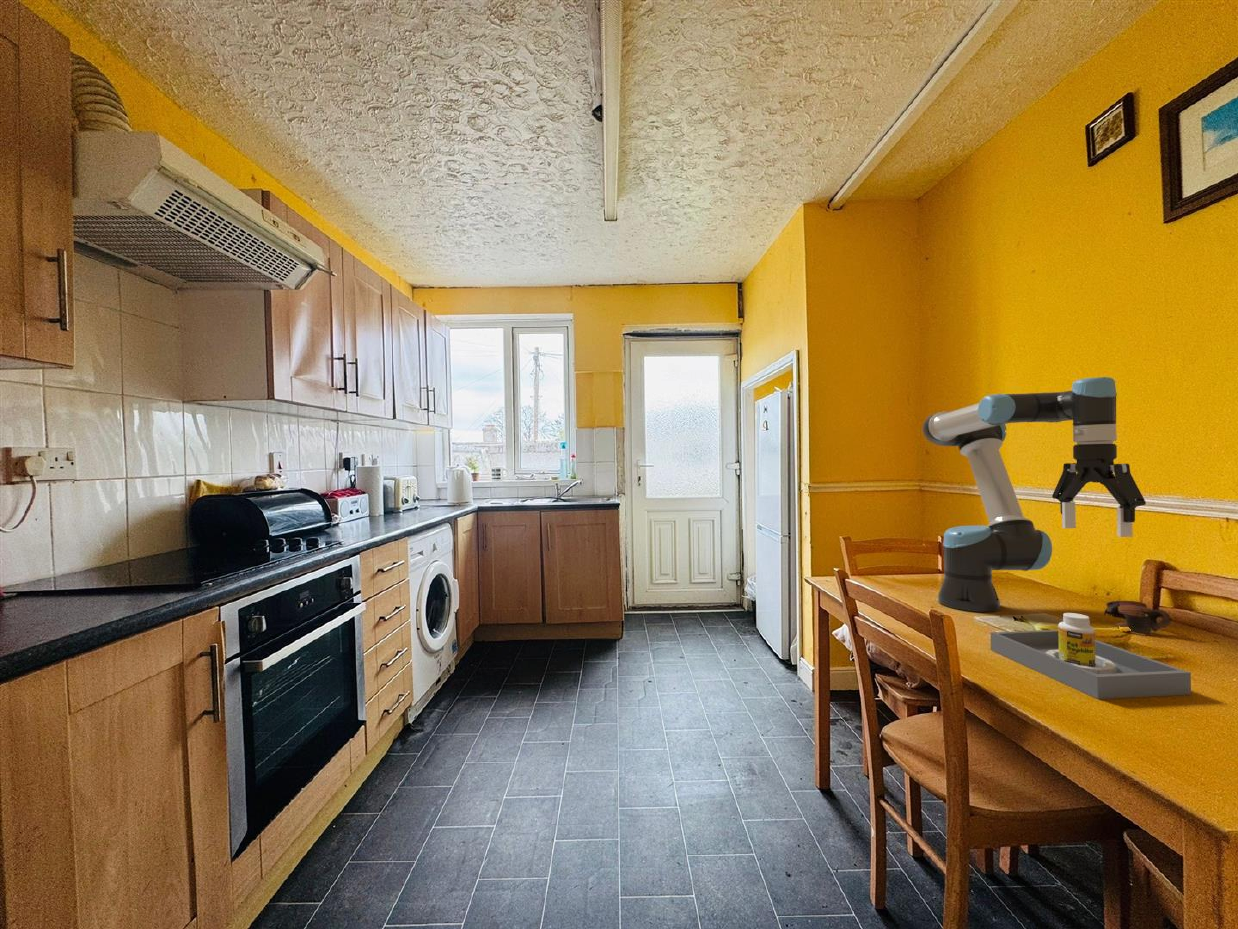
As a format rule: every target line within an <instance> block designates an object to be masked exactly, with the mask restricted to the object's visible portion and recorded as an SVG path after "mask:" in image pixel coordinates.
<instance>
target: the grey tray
mask: <svg viewBox="0 0 1238 929" xmlns="http://www.w3.org/2000/svg"><path fill="white" fill-rule="evenodd" d="M989 635H990V651H992V652H994V653H996V654H998V655H1001V656H1003V657H1005V658H1007V659H1009V660H1012V661H1013V662H1016V663H1018V664H1020V665H1023V666H1025V667H1026V668H1028V669H1031V670H1034V671H1035V672H1038V673H1040V674H1042V675H1045V676H1046V677H1049V678H1051V679H1053V680H1055V681H1057V682H1059V683H1062V684H1064V685H1065V686H1068V687H1071V688H1073V689H1075V690H1077V691H1079V692H1081V693H1083V694H1085V695H1088V696H1090V697H1092V698H1095V699H1097V700H1106V699H1125V698H1126V699H1127V698H1146V697H1147V698H1149V697H1151V698H1152V697H1163V696H1164V697H1165V696H1167V697H1168V696H1170V697H1171V696H1189V695H1192V681H1191V680H1192V679H1191V678H1192V674H1191V673H1192V672H1190V671H1188V670H1184V669H1181V668H1179V667H1176V666H1172V665H1170V664H1166V663H1164V662H1162V661H1159V660H1155V659H1153V658H1150V657H1147V656H1143V655H1141V654H1137V653H1134V652H1132V651H1129V650H1126V649H1124V648H1120V647H1117V646H1114V645H1111V644H1109V643H1105V642H1104V641H1100V640H1098V639H1095V663H1096V665H1095V667H1089V666H1081V665H1077V664H1072V663H1068V662H1066V661H1063V660H1061V659H1059V634H1058V629H1043V630H1041V629H1040V630H1024V631H1023V630H1019V631H1018V630H1016V631H995V632H994V631H993V632H992V631H991V632H990V634H989Z"/></svg>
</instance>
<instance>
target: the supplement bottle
mask: <svg viewBox="0 0 1238 929" xmlns="http://www.w3.org/2000/svg"><path fill="white" fill-rule="evenodd" d="M1090 623H1091V622H1090V616H1088V615H1086V614H1085V615H1084V614H1080V613H1075V612H1064V613H1063V617H1062V621H1060V622H1059V623H1058V625H1057V628H1058V629H1057V630H1058V634H1059V659H1061V660H1063V661H1066V662H1068V663H1072V664H1077V665H1081V666H1089V667H1095V665H1096V663H1095V640H1096V630H1095V628H1094V627H1093V626H1091V624H1090Z"/></svg>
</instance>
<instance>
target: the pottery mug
mask: <svg viewBox="0 0 1238 929" xmlns="http://www.w3.org/2000/svg"><path fill="white" fill-rule="evenodd" d="M1105 605H1106V609H1105V610H1104V611H1103V612H1104V613H1103V615H1105V616H1106V615H1109V616H1111V617H1113V618H1120V619H1124V620H1126V621H1124V622H1117V623H1116V626H1117V627H1118V626H1120V627H1129V628H1130V629H1131V632H1130V633H1134V634H1135V633H1136V634H1140V635H1141V634H1142V635H1146V636H1152V633H1151V632H1154V633H1156V632H1158V631H1159V630H1160V629H1165V628H1166V627H1168V626H1169V625H1170V624H1171V622H1172V620H1173V619H1172V618H1171V616H1170V614H1169V613H1168V612H1167V611H1165V610H1162V609H1149V608H1148V607H1147V604H1146V603H1144V602H1140V601H1134V600H1113V601H1109V602H1107V603H1106V604H1105ZM1159 617H1162V619H1161V620H1160V621H1159V622H1158V618H1159Z"/></svg>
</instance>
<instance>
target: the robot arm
mask: <svg viewBox="0 0 1238 929" xmlns="http://www.w3.org/2000/svg"><path fill="white" fill-rule="evenodd" d="M1115 380H1116V379H1114V378H1113V377H1111V376H1110V377H1109V376H1107V377H1106V376H1100V377H1089V378H1088V377H1087V378H1081V379H1077V380H1075V381H1073V382H1072V385H1071V386H1072V387H1071V390H1067V391H1066V390H1065V391H1060V392H1059V391H1058V392H1033V393H1032V392H1030V393H997V394H989V395H986V396H984V397H982V399H981V400H980V401H979V402H978V403H975V404H972V405H968V406H965V407H961V408H958V409H956V410H952V411H939V412H936V413H934V414H931V415H929V416H928V417H927V418H926V419H925V420H924V421H923V424H922V428H921V429H922V434H923V436H924V438H925V439H926V440H928V442H930V443H932V444H934V445H936V446H941V447H958V450H959V452H960V454H961V455H962V456H964V457H966V458H967V460H968V462H969V465H970V468H971V472H972V475H973V478H974V481H975V483H976V486H977V490H978V493H979V495H980V499H981V502H982V504H983V508H984V510H985V513H986V515H987V516H986V517H987V519H988V522H989V523H988V525H980V524H979V525H962V526H961V525H959V526H954V527H950V528H948V529H946V530H945V531H944V533H943V542H942V546H943V570H944V572H943V573H944V578H943V581H942V583H941V587H940V590H939V592H938V594H937V595H938V596H937V598H938V599H937V602H938V603H939V604H941V605H942V606H944V607H948V608H951V609H956V610H959V611H966V612H967V611H968V612H979V613H981V612H983V613H989V612H991V613H993V612H997V611H1000V609H1001V601H1000V598H999V596H998V594H997V590H996V588H995V585H994V584H993V574H992V573H993V571H1024V572H1028V571H1038V570H1039V571H1040V570H1041V569H1043V568H1045V567H1046V566H1047V565H1048V564H1049V562H1050V561H1051V557H1052V554H1053V544H1052V540H1051V538H1050V536H1049V534H1047V533H1046V531H1043V530H1040V529H1036V528H1035V526H1034V523H1033V520H1031V519H1029V518H1026V517H1025V516H1024V513H1023V511H1022V508H1021V505H1020V503H1019V501H1018V497H1017V495H1016V492H1015V490H1014V487H1013V484H1012V482H1011V479H1010V476H1009V474H1008V470H1007V469H1006V465H1005V463H1004V461H1003V458H1002V457H1003V456H1002V455H1001V452H1000V449H1001V447H1002V446H1003V442H1005V439H1006V436H1007V432H1006V431H1007V425H1006V424H1015V423H1062V422H1067V421H1072V435H1073V436H1072V440H1073V443H1076V444H1074V445H1073V446H1072V456H1073V457H1072V458H1073V460H1075V461H1076V462H1066V463H1063V468H1062V473H1061V475H1060V477H1059V480H1058V482H1057V484H1056V486H1055V488H1054V491H1053V493H1052V496H1051V497H1052V499H1053V500H1054V499H1055V500H1058V501H1059V502H1060V507H1059V508H1060V510H1059V511H1060V514H1061V516H1062V517H1061V522H1062V525H1061V526H1062V527H1061V528H1062V529H1076V523H1077V521H1076V518H1077V517H1076V516H1077V514H1076V502H1075V501H1074V499H1075V497H1076V496H1078V494H1079V493H1080V491H1081V490H1083V488H1084V487H1085V486H1086V485H1087V484H1088V483H1099V484H1101V485H1103V486H1104V487H1105V488H1106V489H1107V491H1108V492H1109V494H1110V495H1111V496H1112V497H1113V498H1114V499H1115V501H1116V502H1117V503H1118V505H1119V506H1118V507H1117V508H1116V522H1117V523H1116V526H1117V528H1116V531H1117V534H1116V535H1117V536H1116V537H1117V538H1118V537H1120V538H1126V537H1127V538H1128V537H1129V538H1131V537H1133V536H1134V535H1133V523H1135V521H1136V508H1138V507H1140V506H1141V507H1142V506H1145V505H1146V504H1147V502H1146V500H1145V498H1144V496H1143V495H1142V492H1141V490H1140V488H1139V487H1138V485H1137V483H1136V481H1135V480H1134V477H1133V476H1132V473H1131V466H1130V464H1129V463H1114V462H1115V461H1114V460H1116V459H1117V457H1118V456H1117V455H1118V454H1117V453H1118V451H1117V450H1118V448H1117V447H1118V445H1117V444H1116V443H1114V442H1116V441H1117V436H1118V435H1117V396H1118V393H1117V387H1116V381H1115Z"/></svg>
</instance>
